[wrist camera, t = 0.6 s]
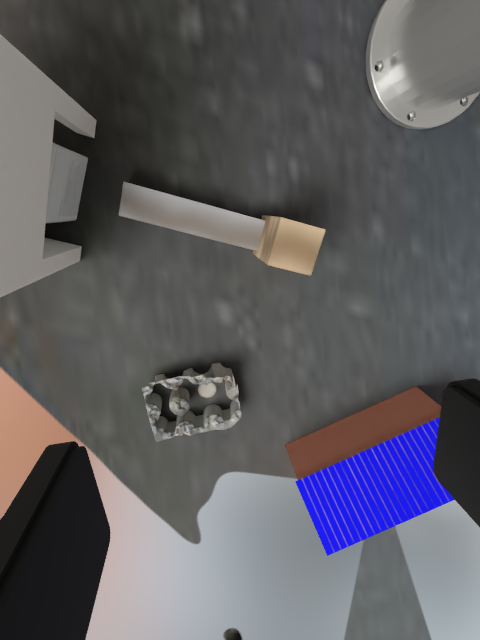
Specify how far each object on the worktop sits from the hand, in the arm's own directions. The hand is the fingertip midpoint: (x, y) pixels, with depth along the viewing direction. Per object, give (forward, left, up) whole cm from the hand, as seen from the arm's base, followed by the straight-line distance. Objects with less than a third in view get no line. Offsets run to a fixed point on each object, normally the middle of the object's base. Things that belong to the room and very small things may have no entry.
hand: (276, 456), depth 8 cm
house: (+20, +26, -29) cm, 44 cm away
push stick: (-5, -1, -28) cm, 29 cm away
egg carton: (+15, +1, -29) cm, 33 cm away
